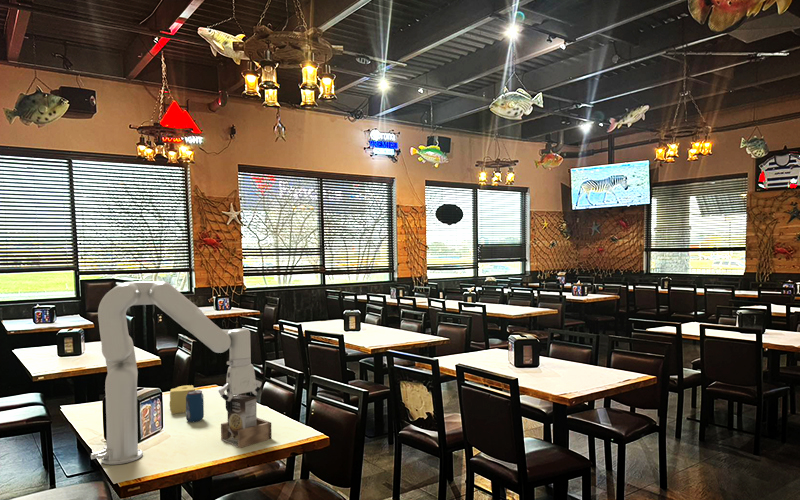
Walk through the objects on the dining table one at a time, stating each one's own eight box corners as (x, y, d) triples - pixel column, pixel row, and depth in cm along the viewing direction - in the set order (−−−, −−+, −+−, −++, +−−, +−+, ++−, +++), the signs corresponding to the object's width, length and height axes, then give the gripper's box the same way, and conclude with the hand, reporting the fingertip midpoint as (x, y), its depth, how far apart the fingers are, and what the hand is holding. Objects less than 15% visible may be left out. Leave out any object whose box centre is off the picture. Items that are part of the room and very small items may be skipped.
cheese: (169, 408, 248) (169, 386, 248) (194, 405, 253) (194, 384, 253) (170, 414, 239) (170, 391, 239) (196, 411, 243) (196, 388, 244)
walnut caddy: (239, 447, 195) (239, 431, 195) (221, 439, 204) (220, 423, 204) (271, 438, 204) (271, 422, 204) (252, 431, 214) (252, 415, 214)
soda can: (206, 418, 232) (206, 390, 232) (199, 423, 225) (198, 394, 226) (191, 418, 233) (190, 389, 233) (183, 422, 226) (182, 393, 226)
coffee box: (226, 441, 202) (226, 397, 203) (239, 436, 208) (239, 393, 208) (244, 445, 198) (244, 400, 198) (257, 439, 203) (257, 396, 204)
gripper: (223, 367, 194) (224, 415, 194) (266, 359, 207) (266, 405, 207) (213, 364, 199) (214, 411, 199) (255, 357, 212) (256, 401, 212)
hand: (241, 408), depth 203 cm, fingers open, 9 cm apart
